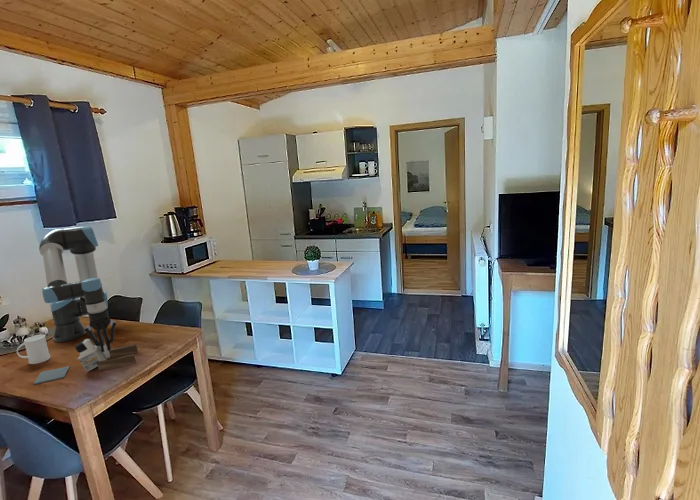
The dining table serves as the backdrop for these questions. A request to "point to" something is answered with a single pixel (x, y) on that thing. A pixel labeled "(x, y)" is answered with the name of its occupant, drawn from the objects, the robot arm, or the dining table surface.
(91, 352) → the container
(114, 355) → the rack
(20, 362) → the dining table surface
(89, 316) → the robot arm
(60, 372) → the pad
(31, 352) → the mug
